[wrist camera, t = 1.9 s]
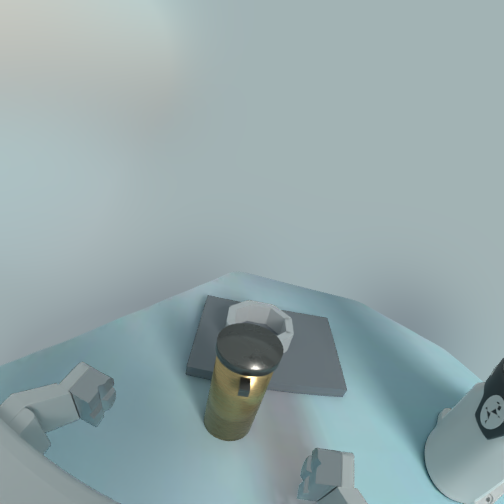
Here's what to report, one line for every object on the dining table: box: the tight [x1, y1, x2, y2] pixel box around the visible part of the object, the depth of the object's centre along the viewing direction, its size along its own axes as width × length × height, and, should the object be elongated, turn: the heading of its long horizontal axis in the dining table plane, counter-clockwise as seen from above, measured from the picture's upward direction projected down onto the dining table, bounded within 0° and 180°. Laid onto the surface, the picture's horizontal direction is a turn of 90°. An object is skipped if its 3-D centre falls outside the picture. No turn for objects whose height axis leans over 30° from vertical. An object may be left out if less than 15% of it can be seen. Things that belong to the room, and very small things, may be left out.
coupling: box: [204, 323, 284, 441], centre depth 25 cm, size 8×5×12 cm
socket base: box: [186, 295, 347, 397], centre depth 40 cm, size 20×16×4 cm
